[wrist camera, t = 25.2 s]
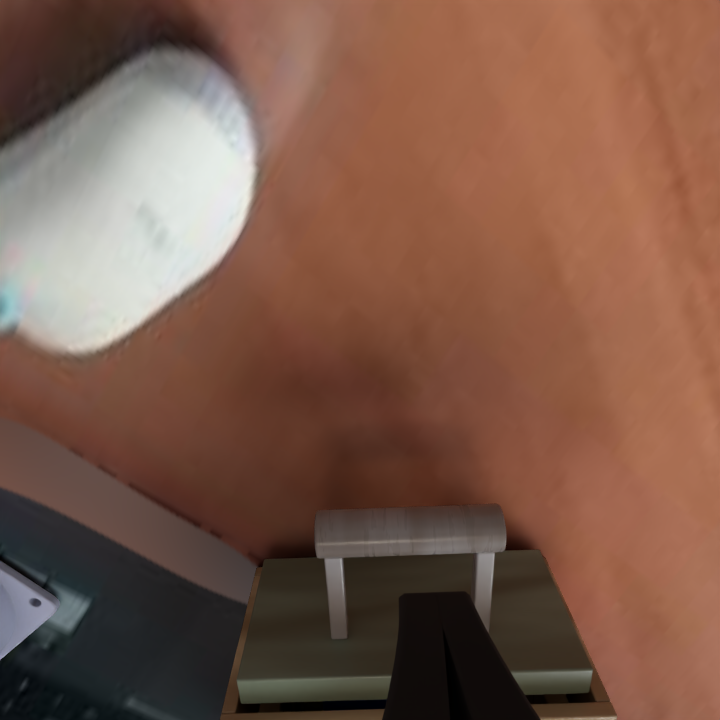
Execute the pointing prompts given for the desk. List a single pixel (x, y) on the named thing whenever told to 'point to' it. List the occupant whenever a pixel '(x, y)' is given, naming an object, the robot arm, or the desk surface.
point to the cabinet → (580, 716)
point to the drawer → (381, 607)
